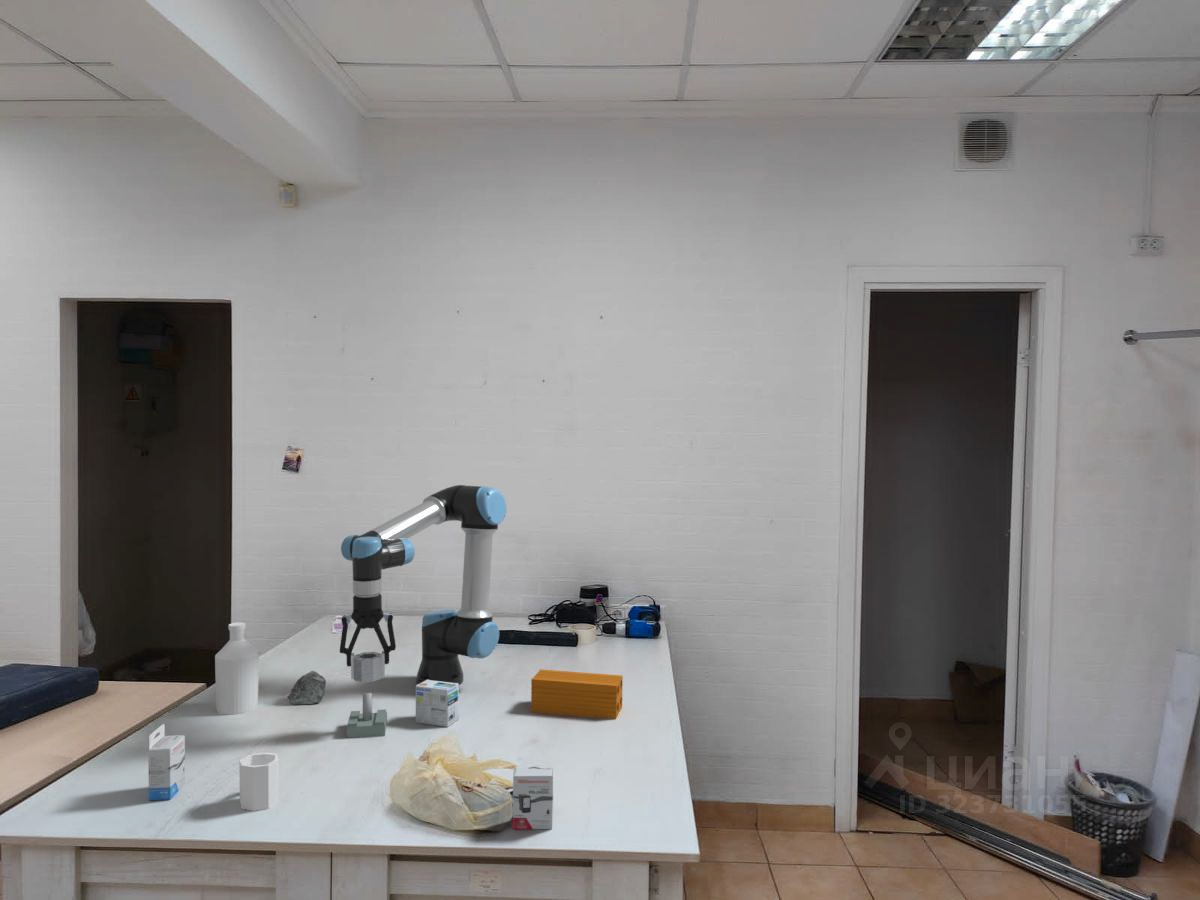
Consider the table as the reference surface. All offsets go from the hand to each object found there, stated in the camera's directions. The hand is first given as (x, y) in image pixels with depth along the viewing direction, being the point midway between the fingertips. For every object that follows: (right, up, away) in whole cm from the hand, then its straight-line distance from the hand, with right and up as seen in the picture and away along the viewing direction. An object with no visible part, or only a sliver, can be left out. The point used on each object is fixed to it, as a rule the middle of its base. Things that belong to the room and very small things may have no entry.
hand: (368, 676), depth 232 cm
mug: (-13, -17, -40) cm, 46 cm away
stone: (-25, -14, +25) cm, 38 cm away
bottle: (-44, -14, +18) cm, 49 cm away
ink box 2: (+49, -18, -51) cm, 73 cm away
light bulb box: (+17, -16, +9) cm, 25 cm away
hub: (0, 0, 0) cm, 0 cm away
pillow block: (-1, -15, +2) cm, 15 cm away
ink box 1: (-36, -17, -38) cm, 55 cm away
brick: (+57, -16, +20) cm, 62 cm away
